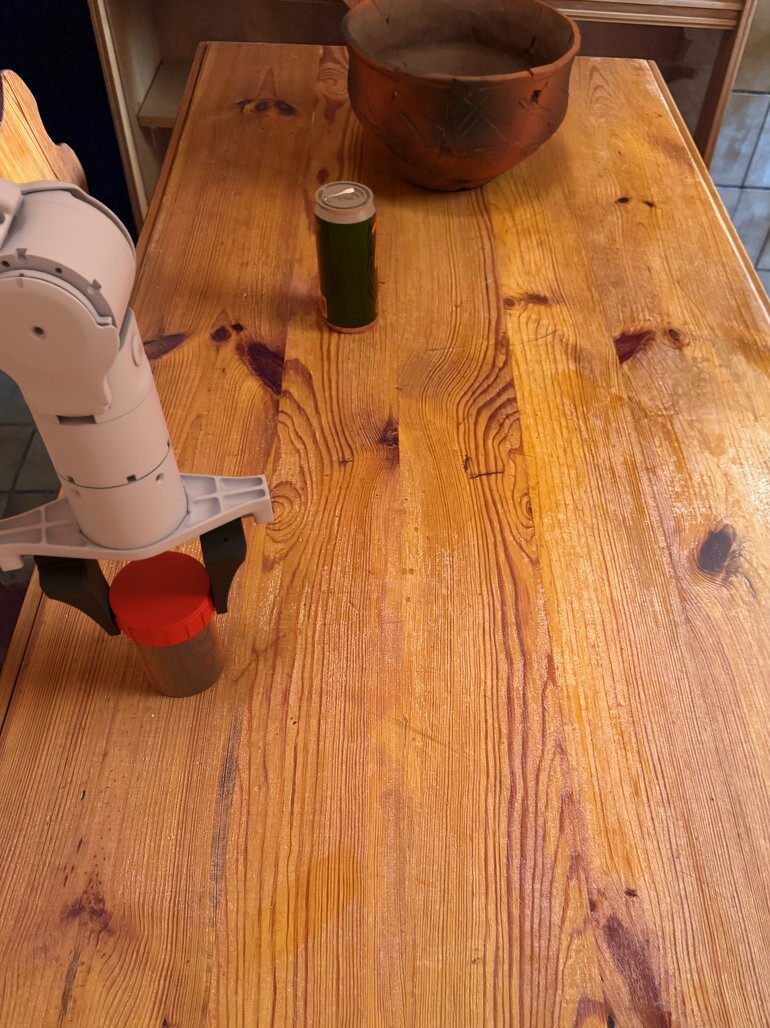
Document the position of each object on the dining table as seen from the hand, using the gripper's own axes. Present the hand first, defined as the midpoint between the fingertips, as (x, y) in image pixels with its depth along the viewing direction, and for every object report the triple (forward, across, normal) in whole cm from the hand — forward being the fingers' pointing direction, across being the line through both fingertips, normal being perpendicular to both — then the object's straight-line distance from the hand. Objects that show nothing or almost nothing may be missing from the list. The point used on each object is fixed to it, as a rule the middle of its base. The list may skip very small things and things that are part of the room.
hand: (168, 612), depth 55 cm
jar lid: (-2, 0, 0) cm, 2 cm away
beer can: (+6, -19, -36) cm, 41 cm away
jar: (+6, 0, 0) cm, 6 cm away
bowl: (+6, -37, -61) cm, 72 cm away
